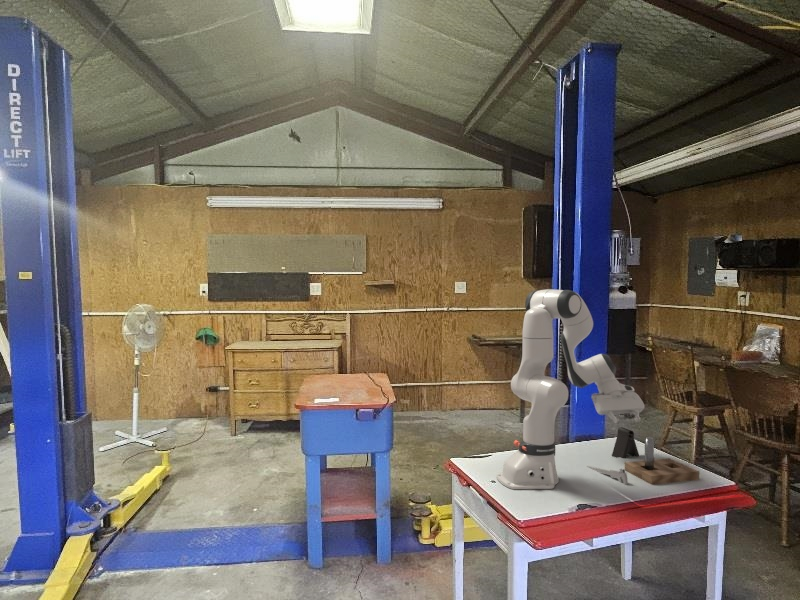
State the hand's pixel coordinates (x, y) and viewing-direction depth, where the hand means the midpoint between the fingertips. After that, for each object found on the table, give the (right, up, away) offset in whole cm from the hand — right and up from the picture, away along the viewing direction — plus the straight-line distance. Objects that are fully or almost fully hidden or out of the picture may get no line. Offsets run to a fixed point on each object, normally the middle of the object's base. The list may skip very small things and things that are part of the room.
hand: (628, 422), depth 185 cm
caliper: (-13, -19, -9) cm, 25 cm away
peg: (+3, -17, -11) cm, 21 cm away
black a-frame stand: (+5, -18, +12) cm, 22 cm away
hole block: (+7, -18, -10) cm, 22 cm away
